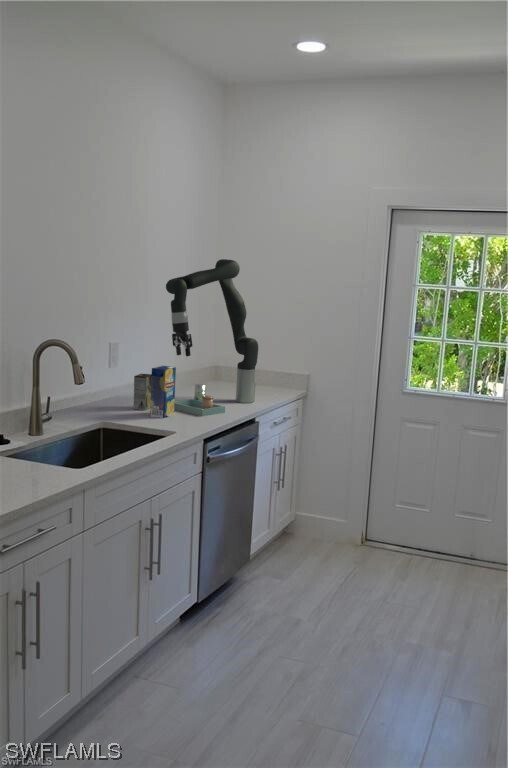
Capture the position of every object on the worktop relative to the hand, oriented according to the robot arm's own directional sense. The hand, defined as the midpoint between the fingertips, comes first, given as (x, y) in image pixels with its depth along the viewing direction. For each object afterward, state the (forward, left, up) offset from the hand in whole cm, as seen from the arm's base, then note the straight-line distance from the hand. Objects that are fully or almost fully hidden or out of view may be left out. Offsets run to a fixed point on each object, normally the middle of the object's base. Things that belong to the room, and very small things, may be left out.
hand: (183, 355), depth 354 cm
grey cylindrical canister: (-12, 0, -26) cm, 29 cm away
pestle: (-2, +15, -25) cm, 30 cm away
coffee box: (+14, -12, -26) cm, 32 cm away
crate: (-2, +9, -26) cm, 28 cm away
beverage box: (+17, +5, -26) cm, 32 cm away
